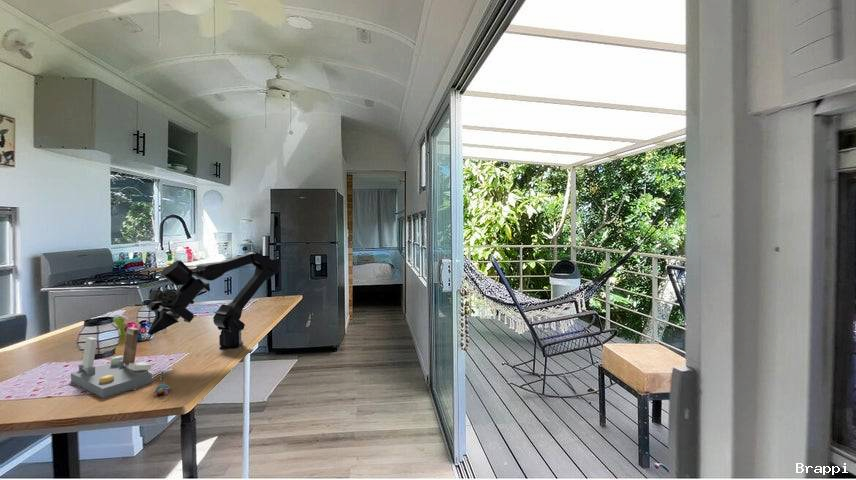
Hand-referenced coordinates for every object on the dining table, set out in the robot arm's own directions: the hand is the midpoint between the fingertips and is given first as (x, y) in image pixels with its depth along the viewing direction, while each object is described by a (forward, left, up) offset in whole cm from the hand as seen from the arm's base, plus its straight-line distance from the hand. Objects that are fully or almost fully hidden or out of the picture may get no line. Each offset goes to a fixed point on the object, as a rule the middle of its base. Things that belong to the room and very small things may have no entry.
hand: (149, 334), depth 110 cm
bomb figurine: (-12, +19, -12) cm, 25 cm away
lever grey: (+14, +4, -8) cm, 17 cm away
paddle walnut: (+4, +4, -8) cm, 10 cm away
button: (+9, -1, -9) cm, 13 cm away
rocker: (-1, +9, -8) cm, 12 cm away
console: (+6, +7, -11) cm, 15 cm away
